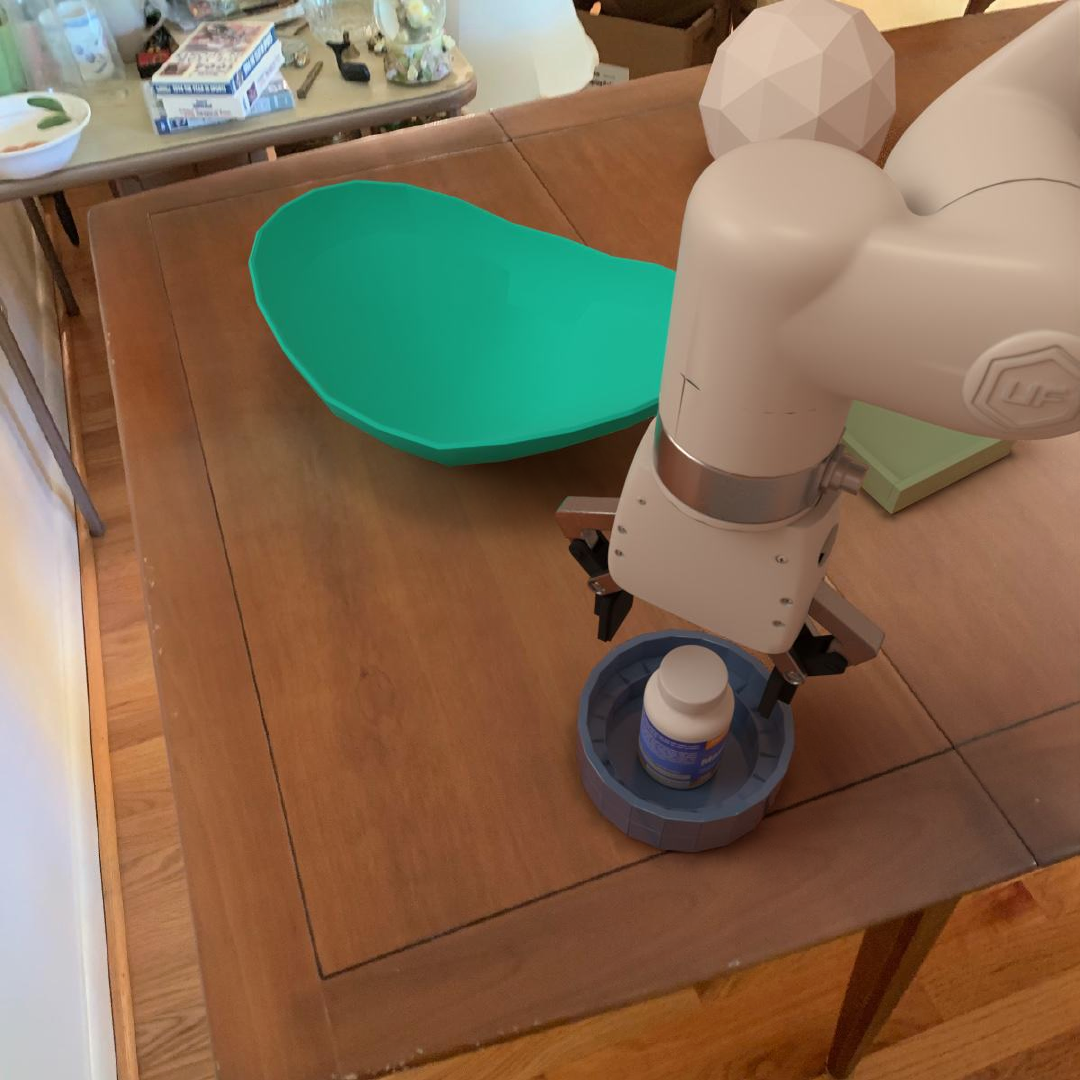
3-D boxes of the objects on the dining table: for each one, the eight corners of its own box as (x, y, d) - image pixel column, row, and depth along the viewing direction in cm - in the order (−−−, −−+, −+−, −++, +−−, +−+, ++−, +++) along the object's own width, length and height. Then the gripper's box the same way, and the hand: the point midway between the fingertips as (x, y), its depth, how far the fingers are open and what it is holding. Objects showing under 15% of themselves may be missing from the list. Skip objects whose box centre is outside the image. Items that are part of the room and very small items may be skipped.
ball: (797, 267, 109) (849, 198, 89) (653, 162, 110) (673, 70, 90) (898, 131, 109) (973, 33, 89) (754, 28, 110) (796, -93, 90)
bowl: (822, 789, 62) (839, 753, 58) (650, 894, 58) (657, 863, 54) (699, 640, 69) (708, 599, 66) (539, 723, 65) (539, 685, 61)
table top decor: (759, 389, 86) (787, 261, 76) (611, 611, 71) (621, 488, 61) (396, 257, 99) (378, 132, 89) (206, 420, 84) (158, 293, 74)
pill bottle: (709, 802, 61) (731, 727, 54) (626, 776, 62) (636, 700, 55) (728, 728, 64) (751, 648, 57) (648, 705, 66) (661, 624, 58)
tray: (1009, 454, 81) (1021, 430, 79) (891, 515, 77) (900, 491, 74) (868, 340, 90) (875, 316, 88) (756, 389, 86) (761, 365, 84)
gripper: (968, 462, 41) (861, 675, 54) (602, 329, 46) (587, 553, 59) (917, 587, 37) (815, 785, 50) (522, 425, 42) (524, 642, 55)
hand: (691, 659), depth 55 cm, fingers open, 9 cm apart
